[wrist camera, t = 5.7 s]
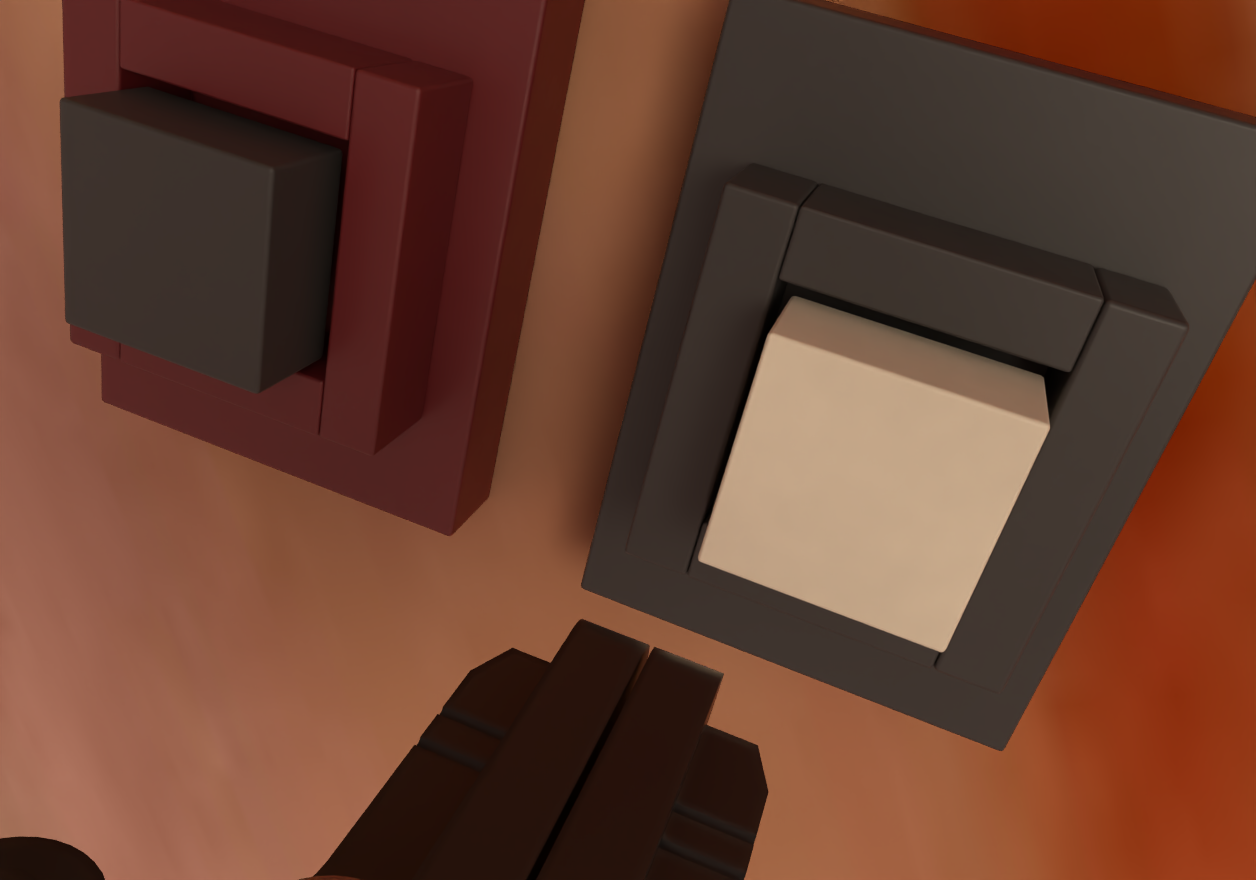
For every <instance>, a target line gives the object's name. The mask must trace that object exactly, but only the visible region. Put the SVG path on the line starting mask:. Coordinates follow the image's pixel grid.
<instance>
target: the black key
mask: <svg viewBox="0 0 1256 880" xmlns="http://www.w3.org/2000/svg"><path fill="white" fill-rule="evenodd" d="M60 133H61V171H62V209H63V247H64V285H65V319H66V322H67V323H68V324H71V325H74V326H76V327H79V328H82V329H84V330H87V331H90V332H92V333H95V334H98V335H100V336H103V337H106V338H108V339H111V340H114V341H116V342H119V343H122V344H124V345H127V346H130V347H132V348H135V349H138V350H140V351H143V352H146V353H148V354H151V355H153V356H156V357H159V358H161V359H164V360H167V361H169V362H172V363H175V364H177V365H180V366H183V367H185V368H188V369H191V370H193V371H196V372H199V373H201V374H204V375H207V376H209V377H212V378H215V379H217V380H220V381H223V382H225V383H228V384H231V385H233V386H236V387H238V388H241V389H244V390H246V391H249V392H252V393H255V394H258V393H261V392H263V391H265V390H266V389H268V388H270V387H272V386H273V385H275V384H277V383H279V382H280V381H282V380H284V379H286V378H287V377H289V376H291V375H293V374H294V373H296V372H298V371H300V370H302V369H303V368H305V367H307V366H309V365H310V364H312V363H314V362H316V361H317V360H319V359H321V357H322V355H323V347H324V337H325V327H326V317H327V307H328V297H329V286H330V276H331V266H332V256H333V246H334V236H335V226H336V216H337V206H338V195H339V185H340V175H341V165H342V155H343V153H342V150H340V149H339V148H336V147H333V146H330V145H327V144H324V143H321V142H317V141H314V140H311V139H308V138H305V137H302V136H299V135H296V134H293V133H290V132H287V131H283V130H280V129H277V128H274V127H271V126H268V125H265V124H262V123H259V122H256V121H253V120H249V119H246V118H243V117H240V116H237V115H234V114H231V113H228V112H225V111H222V110H219V109H215V108H212V107H209V106H206V105H203V104H200V103H197V102H194V101H191V100H188V99H185V98H181V97H178V96H175V95H172V94H169V93H166V92H163V91H160V90H157V89H154V88H151V87H140V88H133V89H125V90H117V91H110V92H102V93H94V94H87V95H79V96H71V97H64V98H61V100H60Z"/></svg>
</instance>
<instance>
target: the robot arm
mask: <svg viewBox="0 0 1256 880" xmlns="http://www.w3.org/2000/svg"><path fill="white" fill-rule="evenodd" d="M649 647H650V646H649V645H648V644H645V643H643V642H640V641H637V640H635V639H632V638H630V637H627V636H625V635H622V634H619V633H617V632H614V631H612V630H609V629H607V628H604V627H601V626H599V625H596V624H594V623H591V622H589V621H586V620H583V619H581V620H579V621H578V622H577V623H576V625H575V626H574V628H573V629H572V631H571V632H570V634H569V635H568V637H567V638H566V640H565V642H564V643H563V645H562V646H561V648H560V649H559V651H558V652H557V654H556V656H555V657H554V659H553V660H552V662H551V663H549V662H547V661H544V660H542V659H539V658H537V657H534V656H532V655H529V654H527V653H524V652H522V651H519V650H517V649H514V648H511V649H509V650H508V651H506V652H504V653H502V654H500V655H498V656H497V657H495V658H493V659H491V660H489V661H487V662H486V663H484V664H482V665H480V666H478V667H476V668H475V669H473V670H471V671H470V672H469V673H468V674H467V676H466V677H465V678H464V680H463V681H462V682H461V684H460V685H459V686H458V688H457V689H456V690H455V692H454V693H453V694H452V696H451V697H450V698H449V700H448V701H447V702H446V704H445V705H444V706H443V709H442V712H441V713H440V715H439V714H437V716H436V717H435V718H434V720H433V721H432V722H431V724H430V725H429V726H428V728H427V729H426V730H425V732H424V733H423V734H422V736H421V737H420V740H419V743H418V744H417V746H416V745H414V746H413V748H412V749H411V750H410V752H409V753H408V754H407V756H406V757H405V758H404V760H403V761H402V762H401V764H400V765H399V766H398V768H397V769H396V770H395V772H394V773H393V774H392V776H391V777H390V778H389V780H388V781H387V782H386V784H385V785H384V786H383V788H382V789H381V790H380V792H379V793H378V794H377V796H376V797H375V798H374V800H373V801H372V802H371V804H370V805H369V806H368V808H367V809H366V810H365V812H364V813H363V814H362V816H361V817H360V818H359V820H358V821H357V822H356V824H355V825H354V826H353V828H352V829H351V830H350V832H349V833H348V834H347V836H346V837H345V838H344V840H343V841H342V842H341V844H340V845H339V846H338V848H337V849H336V850H335V852H334V853H333V854H332V856H331V857H330V858H329V860H328V861H327V862H326V863H325V864H324V865H323V867H322V868H321V869H320V870H319V871H318V872H317V873H316V874H315V875H314V876H313V877H309V878H304V879H299V880H744V878H745V875H746V871H747V868H748V864H749V861H750V857H751V853H752V850H753V846H754V845H753V844H754V841H755V838H756V835H757V831H758V828H759V824H760V821H761V817H762V813H763V810H764V806H765V802H766V799H767V795H768V788H767V784H766V779H765V775H764V771H763V766H762V762H761V758H760V753H759V749H758V745H756V744H753V743H751V742H748V741H746V740H743V739H741V738H738V737H736V736H733V735H731V734H728V733H726V732H723V731H721V730H718V729H715V728H713V727H710V726H708V725H707V723H708V720H709V717H710V714H711V711H712V708H713V705H714V702H715V699H716V696H717V693H718V691H719V688H720V685H721V681H722V678H723V675H724V674H723V673H721V672H718V671H716V670H713V669H710V668H708V667H705V666H703V665H700V664H698V663H695V662H692V661H690V660H687V659H685V658H682V657H679V656H677V655H674V654H672V653H669V652H667V651H664V650H661V649H659V648H656V647H654V649H653V650H652V652H651V653H650V655H649V657H648V654H649ZM647 658H648V659H647ZM0 880H105V878H104V876H103V873H102V872H101V870H100V869H99V868H98V866H97V865H96V864H95V862H94V861H93V860H92V859H90V858H89V857H88V856H87V855H86V854H85V853H84V852H82V851H80V850H78V849H76V848H75V847H73V846H71V845H68V844H65V843H62V842H59V841H56V840H52V839H46V838H40V837H10V838H1V839H0Z"/></svg>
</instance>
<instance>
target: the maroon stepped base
mask: <svg viewBox="0 0 1256 880" xmlns="http://www.w3.org/2000/svg"><path fill="white" fill-rule="evenodd" d="M584 1H585V0H62V9H63V51H64V92H65V97H71V96H79V95H87V94H94V93H102V92H110V91H117V90H125V89H133V88H140V87H151V88H154V89H157V90H160V91H163V92H166V93H169V94H172V95H175V96H178V97H181V98H185V99H188V100H191V101H194V102H197V103H200V104H203V105H206V106H209V107H212V108H215V109H219V110H222V111H225V112H228V113H231V114H234V115H237V116H240V117H243V118H246V119H249V120H253V121H256V122H259V123H262V124H265V125H268V126H271V127H274V128H277V129H280V130H283V131H287V132H290V133H293V134H296V135H299V136H302V137H305V138H308V139H311V140H314V141H317V142H321V143H324V144H327V145H330V146H333V147H336V148H339V149H340V150H342V153H343V155H342V165H341V175H340V185H339V195H338V206H337V216H336V226H335V236H334V246H333V256H332V266H331V276H330V286H329V297H328V307H327V317H326V327H325V337H324V347H323V355H322V357H321V359H319V360H317V361H316V362H314V363H312V364H310V365H309V366H307V367H305V368H303V369H302V370H300V371H298V372H296V373H294V374H293V375H291V376H289V377H287V378H286V379H284V380H282V381H280V382H279V383H277V384H275V385H273V386H272V387H270V388H268V389H266V390H265V391H263V392H261V393H258V394H255V393H252V392H249V391H246V390H244V389H241V388H238V387H236V386H233V385H231V384H228V383H225V382H223V381H220V380H217V379H215V378H212V377H209V376H207V375H204V374H201V373H199V372H196V371H193V370H191V369H188V368H185V367H183V366H180V365H177V364H175V363H172V362H169V361H167V360H164V359H161V358H159V357H156V356H153V355H151V354H148V353H146V352H143V351H140V350H138V349H135V348H132V347H130V346H127V345H124V344H122V343H119V342H116V341H114V340H111V339H108V338H106V337H103V336H100V335H98V334H95V333H92V332H90V331H87V330H84V329H82V328H79V327H76V326H74V325H71V324H70V339H71V341H72V342H73V343H75V344H77V345H80V346H82V347H85V348H88V349H90V350H93V351H96V352H98V353H101V365H102V400H103V401H104V402H106V403H108V404H111V405H113V406H116V407H118V408H121V409H124V410H126V411H129V412H131V413H134V414H136V415H139V416H141V417H144V418H147V419H149V420H152V421H154V422H157V423H159V424H162V425H165V426H167V427H170V428H172V429H175V430H177V431H180V432H183V433H185V434H188V435H190V436H193V437H195V438H198V439H201V440H203V441H206V442H208V443H211V444H213V445H216V446H219V447H221V448H224V449H226V450H229V451H231V452H234V453H236V454H239V455H242V456H244V457H247V458H249V459H252V460H254V461H257V462H260V463H262V464H265V465H267V466H270V467H272V468H275V469H278V470H280V471H283V472H285V473H288V474H290V475H293V476H296V477H298V478H301V479H303V480H306V481H308V482H311V483H314V484H316V485H319V486H321V487H324V488H326V489H329V490H332V491H334V492H337V493H339V494H342V495H344V496H347V497H349V498H352V499H355V500H357V501H360V502H362V503H365V504H367V505H370V506H373V507H375V508H378V509H380V510H383V511H385V512H388V513H391V514H393V515H396V516H398V517H401V518H403V519H406V520H409V521H411V522H414V523H416V524H419V525H421V526H424V527H427V528H429V529H432V530H434V531H437V532H439V533H442V534H444V535H447V536H451V535H453V534H454V533H455V532H456V530H457V529H458V528H459V527H460V526H461V525H462V524H463V523H464V522H465V521H466V520H467V519H468V518H469V517H470V516H471V515H472V514H473V513H474V512H475V511H476V510H477V509H478V508H479V507H480V506H481V505H482V504H483V503H484V502H485V501H486V499H487V498H488V497H489V492H490V487H491V482H492V477H493V472H494V467H495V461H496V456H497V451H498V446H499V441H500V435H501V430H502V425H503V420H504V415H505V410H506V404H507V399H508V394H509V389H510V384H511V379H512V373H513V368H514V363H515V358H516V353H517V348H518V342H519V337H520V332H521V327H522V322H523V317H524V311H525V306H526V301H527V296H528V291H529V285H530V280H531V275H532V270H533V265H534V260H535V254H536V249H537V244H538V239H539V234H540V229H541V223H542V218H543V213H544V208H545V203H546V198H547V192H548V187H549V182H550V177H551V172H552V167H553V161H554V156H555V151H556V146H557V141H558V135H559V130H560V125H561V120H562V115H563V110H564V104H565V99H566V94H567V89H568V84H569V79H570V73H571V68H572V63H573V58H574V53H575V48H576V42H577V37H578V32H579V27H580V22H581V17H582V11H583V6H584Z"/></svg>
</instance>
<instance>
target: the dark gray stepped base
mask: <svg viewBox="0 0 1256 880" xmlns="http://www.w3.org/2000/svg"><path fill="white" fill-rule="evenodd" d="M1255 279H1256V117H1254V116H1250V115H1246V114H1242V113H1239V112H1235V111H1231V110H1228V109H1224V108H1220V107H1217V106H1213V105H1209V104H1206V103H1202V102H1198V101H1194V100H1191V99H1187V98H1183V97H1180V96H1176V95H1172V94H1169V93H1165V92H1161V91H1157V90H1154V89H1150V88H1146V87H1143V86H1139V85H1135V84H1132V83H1128V82H1124V81H1120V80H1117V79H1113V78H1109V77H1106V76H1102V75H1098V74H1095V73H1091V72H1087V71H1084V70H1080V69H1076V68H1072V67H1069V66H1065V65H1061V64H1058V63H1054V62H1050V61H1047V60H1043V59H1039V58H1035V57H1032V56H1028V55H1024V54H1021V53H1017V52H1013V51H1010V50H1006V49H1002V48H998V47H995V46H991V45H987V44H984V43H980V42H976V41H973V40H969V39H965V38H961V37H958V36H954V35H950V34H947V33H943V32H939V31H936V30H932V29H928V28H925V27H921V26H917V25H913V24H910V23H906V22H902V21H899V20H895V19H891V18H888V17H884V16H880V15H876V14H873V13H869V12H865V11H862V10H858V9H854V8H851V7H847V6H843V5H839V4H836V3H832V2H828V1H825V0H729V3H728V7H727V11H726V15H725V18H724V22H723V26H722V30H721V34H720V38H719V42H718V46H717V50H716V54H715V58H714V62H713V66H712V70H711V74H710V78H709V82H708V86H707V89H706V93H705V97H704V101H703V105H702V109H701V113H700V117H699V121H698V125H697V129H696V133H695V137H694V141H693V145H692V149H691V153H690V157H689V160H688V164H687V168H686V172H685V176H684V180H683V184H682V188H681V192H680V196H679V200H678V204H677V208H676V212H675V216H674V220H673V224H672V228H671V231H670V235H669V239H668V243H667V247H666V251H665V255H664V259H663V263H662V267H661V271H660V275H659V279H658V283H657V287H656V291H655V295H654V299H653V302H652V306H651V310H650V314H649V318H648V322H647V326H646V330H645V334H644V338H643V342H642V346H641V350H640V354H639V358H638V362H637V366H636V370H635V373H634V377H633V381H632V385H631V389H630V393H629V397H628V401H627V405H626V409H625V413H624V417H623V421H622V425H621V429H620V433H619V437H618V441H617V445H616V448H615V452H614V456H613V460H612V464H611V468H610V472H609V476H608V480H607V484H606V488H605V492H604V496H603V500H602V504H601V508H600V512H599V516H598V519H597V523H596V527H595V531H594V535H593V539H592V543H591V547H590V551H589V555H588V559H587V563H586V567H585V571H584V575H583V579H582V583H581V586H582V588H583V589H585V590H588V591H590V592H593V593H595V594H598V595H601V596H603V597H606V598H608V599H611V600H613V601H616V602H619V603H621V604H624V605H626V606H629V607H631V608H634V609H637V610H639V611H642V612H644V613H647V614H649V615H652V616H654V617H657V618H660V619H662V620H665V621H667V622H670V623H672V624H675V625H678V626H680V627H683V628H685V629H688V630H690V631H693V632H696V633H698V634H701V635H703V636H706V637H708V638H711V639H714V640H716V641H719V642H721V643H724V644H726V645H729V646H732V647H734V648H737V649H739V650H742V651H744V652H747V653H749V654H752V655H755V656H757V657H760V658H762V659H765V660H767V661H770V662H773V663H775V664H778V665H780V666H783V667H785V668H788V669H791V670H793V671H796V672H798V673H801V674H803V675H806V676H809V677H811V678H814V679H816V680H819V681H821V682H824V683H827V684H829V685H832V686H834V687H837V688H839V689H842V690H844V691H847V692H850V693H852V694H855V695H857V696H860V697H862V698H865V699H868V700H870V701H873V702H875V703H878V704H880V705H883V706H886V707H888V708H891V709H893V710H896V711H898V712H901V713H904V714H906V715H909V716H911V717H914V718H916V719H919V720H922V721H924V722H927V723H929V724H932V725H934V726H937V727H939V728H942V729H945V730H947V731H950V732H952V733H955V734H957V735H960V736H963V737H965V738H968V739H970V740H973V741H975V742H978V743H981V744H983V745H986V746H988V747H991V748H993V749H996V750H999V751H1002V750H1004V748H1005V747H1006V745H1007V743H1008V741H1009V739H1010V737H1011V736H1012V734H1013V732H1014V730H1015V728H1016V726H1017V724H1018V723H1019V721H1020V719H1021V717H1022V715H1023V713H1024V711H1025V709H1026V708H1027V706H1028V704H1029V702H1030V700H1031V698H1032V696H1033V694H1034V693H1035V691H1036V689H1037V687H1038V685H1039V683H1040V681H1041V680H1042V678H1043V676H1044V674H1045V672H1046V670H1047V668H1048V666H1049V665H1050V663H1051V661H1052V659H1053V657H1054V655H1055V653H1056V651H1057V650H1058V648H1059V646H1060V644H1061V642H1062V640H1063V638H1064V636H1065V635H1066V633H1067V631H1068V629H1069V627H1070V625H1071V623H1072V622H1073V620H1074V618H1075V616H1076V614H1077V612H1078V610H1079V608H1080V607H1081V605H1082V603H1083V601H1084V599H1085V597H1086V595H1087V593H1088V592H1089V590H1090V588H1091V586H1092V584H1093V582H1094V580H1095V579H1096V577H1097V575H1098V573H1099V571H1100V569H1101V567H1102V565H1103V564H1104V562H1105V560H1106V558H1107V556H1108V554H1109V552H1110V550H1111V549H1112V547H1113V545H1114V543H1115V541H1116V539H1117V537H1118V536H1119V534H1120V532H1121V530H1122V528H1123V526H1124V524H1125V522H1126V521H1127V519H1128V517H1129V515H1130V513H1131V511H1132V509H1133V507H1134V506H1135V504H1136V502H1137V500H1138V498H1139V496H1140V494H1141V493H1142V491H1143V489H1144V487H1145V485H1146V483H1147V481H1148V479H1149V478H1150V476H1151V474H1152V472H1153V470H1154V468H1155V466H1156V464H1157V463H1158V461H1159V459H1160V457H1161V455H1162V453H1163V451H1164V450H1165V448H1166V446H1167V444H1168V442H1169V440H1170V438H1171V436H1172V435H1173V433H1174V431H1175V429H1176V427H1177V425H1178V423H1179V421H1180V420H1181V418H1182V416H1183V414H1184V412H1185V410H1186V408H1187V406H1188V405H1189V403H1190V401H1191V399H1192V397H1193V395H1194V393H1195V392H1196V390H1197V388H1198V386H1199V384H1200V382H1201V380H1202V378H1203V377H1204V375H1205V373H1206V371H1207V369H1208V367H1209V365H1210V363H1211V362H1212V360H1213V358H1214V356H1215V354H1216V352H1217V350H1218V349H1219V347H1220V345H1221V343H1222V341H1223V339H1224V337H1225V335H1226V334H1227V332H1228V330H1229V328H1230V326H1231V324H1232V322H1233V320H1234V319H1235V317H1236V315H1237V313H1238V311H1239V309H1240V307H1241V306H1242V304H1243V302H1244V300H1245V298H1246V296H1247V294H1248V292H1249V291H1250V289H1251V287H1252V285H1253V283H1254V281H1255ZM792 296H797V297H800V298H803V299H807V300H810V301H813V302H816V303H819V304H822V305H825V306H828V307H831V308H834V309H837V310H840V311H844V312H847V313H850V314H853V315H856V316H859V317H862V318H865V319H868V320H871V321H874V322H878V323H881V324H884V325H887V326H890V327H893V328H896V329H899V330H902V331H905V332H908V333H912V334H915V335H918V336H921V337H924V338H927V339H930V340H933V341H936V342H939V343H942V344H946V345H949V346H952V347H955V348H958V349H961V350H964V351H967V352H970V353H973V354H976V355H980V356H983V357H986V358H989V359H992V360H995V361H998V362H1001V363H1004V364H1007V365H1010V366H1014V367H1017V368H1020V369H1023V370H1026V371H1029V372H1032V373H1035V374H1038V375H1041V376H1042V377H1044V383H1045V391H1046V399H1047V407H1048V414H1049V422H1050V430H1049V432H1048V434H1047V436H1046V438H1045V440H1044V442H1043V445H1042V447H1041V449H1040V451H1039V453H1038V455H1037V457H1036V459H1035V462H1034V464H1033V466H1032V468H1031V470H1030V472H1029V474H1028V476H1027V479H1026V481H1025V483H1024V485H1023V487H1022V489H1021V491H1020V493H1019V496H1018V498H1017V500H1016V502H1015V504H1014V506H1013V508H1012V510H1011V513H1010V515H1009V517H1008V519H1007V521H1006V523H1005V525H1004V527H1003V529H1002V532H1001V534H1000V536H999V538H998V540H997V542H996V544H995V546H994V549H993V551H992V553H991V555H990V557H989V559H988V561H987V563H986V566H985V568H984V570H983V572H982V574H981V576H980V578H979V580H978V583H977V585H976V587H975V589H974V591H973V593H972V595H971V597H970V600H969V602H968V604H967V606H966V608H965V610H964V612H963V614H962V617H961V619H960V621H959V623H958V625H957V627H956V629H955V631H954V633H953V636H952V638H951V640H950V642H949V644H948V646H947V648H946V650H945V651H944V652H939V651H936V650H933V649H931V648H928V647H925V646H923V645H920V644H917V643H915V642H912V641H909V640H907V639H904V638H901V637H899V636H896V635H893V634H891V633H888V632H885V631H883V630H880V629H877V628H875V627H872V626H869V625H867V624H864V623H862V622H859V621H856V620H854V619H851V618H848V617H846V616H843V615H840V614H838V613H835V612H832V611H830V610H827V609H824V608H822V607H819V606H816V605H814V604H811V603H808V602H806V601H803V600H800V599H798V598H795V597H792V596H790V595H787V594H784V593H782V592H779V591H777V590H774V589H771V588H769V587H766V586H763V585H761V584H758V583H755V582H753V581H750V580H747V579H745V578H742V577H739V576H737V575H734V574H731V573H729V572H726V571H723V570H721V569H718V568H715V567H713V566H710V565H707V564H705V563H702V562H700V561H699V560H698V555H699V552H700V549H701V545H702V542H703V539H704V536H705V533H706V529H707V526H708V523H709V520H710V517H711V514H712V510H713V507H714V504H715V501H716V498H717V494H718V491H719V488H720V485H721V482H722V478H723V475H724V472H725V469H726V466H727V462H728V459H729V456H730V453H731V450H732V446H733V443H734V440H735V437H736V434H737V430H738V427H739V424H740V421H741V418H742V414H743V411H744V408H745V405H746V402H747V399H748V395H749V392H750V389H751V386H752V383H753V379H754V376H755V373H756V370H757V367H758V363H759V360H760V357H761V354H762V351H763V347H764V344H765V341H766V338H767V335H768V333H769V332H770V330H771V328H772V327H773V325H774V324H775V322H776V320H777V319H778V317H779V316H780V314H781V313H782V311H783V309H784V308H785V306H786V305H787V303H788V301H789V300H790V298H791V297H792Z"/></svg>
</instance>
